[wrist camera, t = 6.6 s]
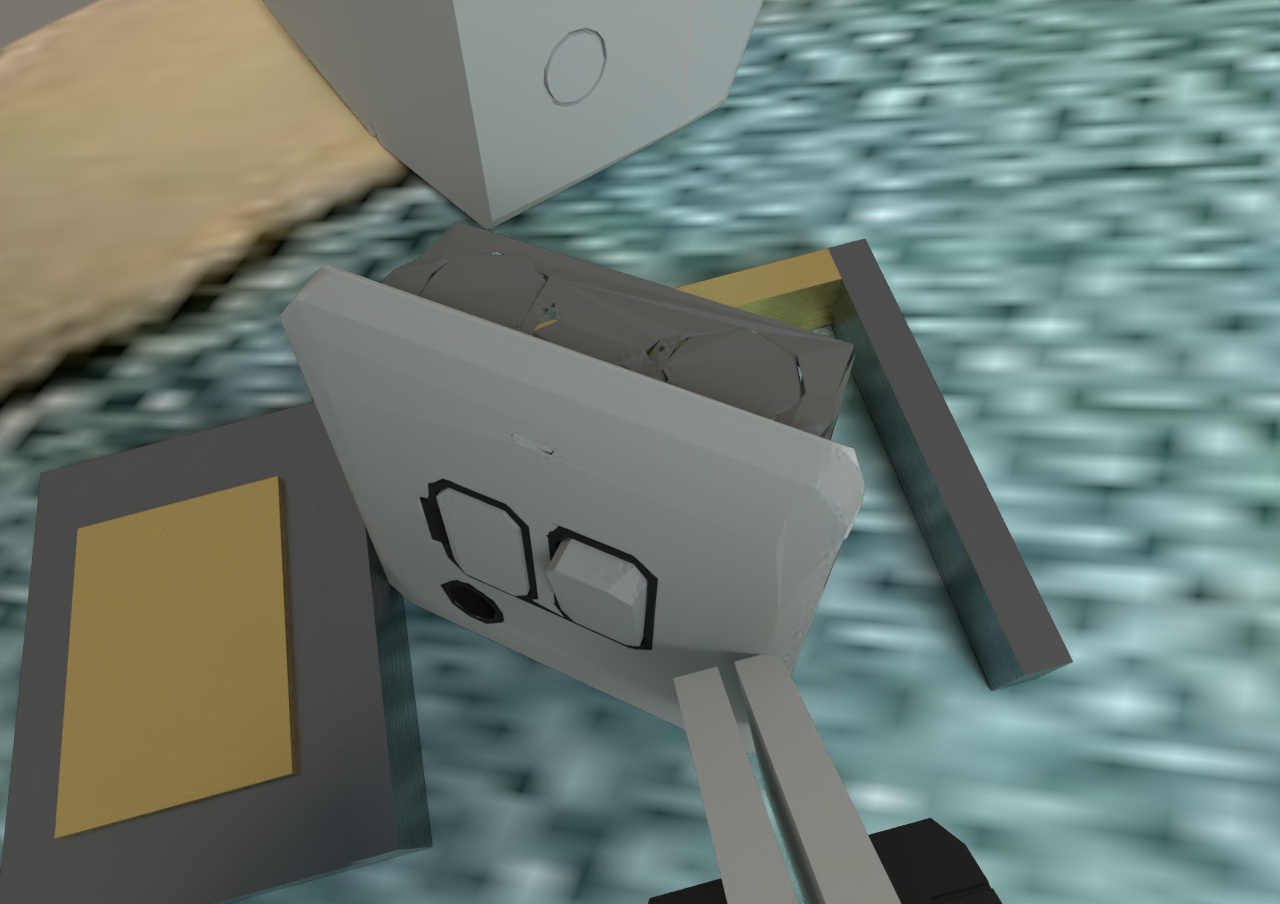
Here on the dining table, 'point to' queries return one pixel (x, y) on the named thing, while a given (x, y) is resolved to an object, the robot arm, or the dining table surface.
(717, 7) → the electrical switch box
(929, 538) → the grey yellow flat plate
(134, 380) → the dining table surface
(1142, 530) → the dining table surface
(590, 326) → the electrical switch
